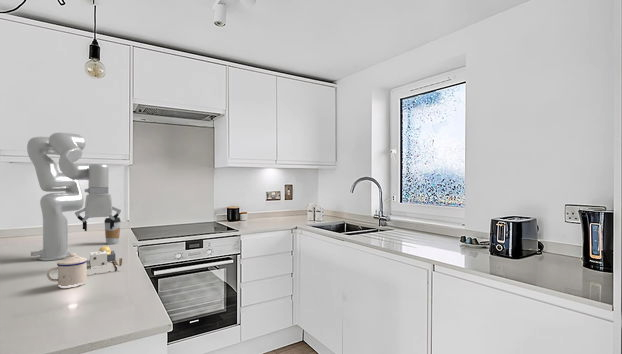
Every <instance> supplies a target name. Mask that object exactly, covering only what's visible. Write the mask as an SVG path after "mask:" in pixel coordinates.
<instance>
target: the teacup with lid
mask: <svg viewBox="0 0 622 354" xmlns="http://www.w3.org/2000/svg"><path fill="white" fill-rule="evenodd" d="M70 253H71V254H69V257H66V258H64V259H59V260H58V262H56V263H57V265H56V266H57V267H56V266H55V267H52V268H50V269H48V270H47V272H46V277H47V279H48V280H49V281H51V282H57V286H58V285H61V286H68V285H74V284H78V283H82V282H84V281H86V280H87V277H88V276H87V274H88V273H87V271H88V270H87V269H88V267H87V265H88V264H87V262H88V259H87V257H81V256H80V255H77V254H76V253H75V252H74V253H73V252H70ZM56 270H57V279H56V278H52V277H51V276H50V273H51V272H52V271H56ZM87 281H88V280H87Z"/></svg>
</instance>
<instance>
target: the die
mask: <svg viewBox="0 0 622 354" xmlns="http://www.w3.org/2000/svg"><path fill="white" fill-rule="evenodd" d="M103 265H107V266H108V262H107V252H106V251H99V250H98V251H92V252H91V251H90V252H89V266H91V267H94V266H103ZM91 267H90V268H91Z"/></svg>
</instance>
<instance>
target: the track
mask: <svg viewBox="0 0 622 354" xmlns="http://www.w3.org/2000/svg"><path fill="white" fill-rule="evenodd" d="M113 262H114V263H113ZM113 262H112V263H113V265H114V264H115V265H118V266H119V264H122V265H123V258H122V257H120V258H119V259H118V261H117V260H116V259H115V261H113ZM115 265H114V266H115Z"/></svg>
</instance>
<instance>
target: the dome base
mask: <svg viewBox="0 0 622 354" xmlns="http://www.w3.org/2000/svg"><path fill="white" fill-rule="evenodd" d="M115 260H116V253H115V250H111V254H107V261H115Z"/></svg>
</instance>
